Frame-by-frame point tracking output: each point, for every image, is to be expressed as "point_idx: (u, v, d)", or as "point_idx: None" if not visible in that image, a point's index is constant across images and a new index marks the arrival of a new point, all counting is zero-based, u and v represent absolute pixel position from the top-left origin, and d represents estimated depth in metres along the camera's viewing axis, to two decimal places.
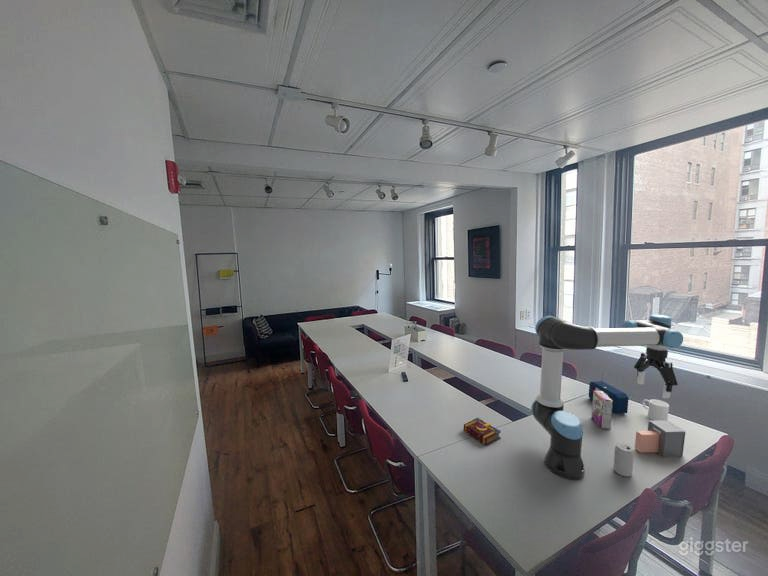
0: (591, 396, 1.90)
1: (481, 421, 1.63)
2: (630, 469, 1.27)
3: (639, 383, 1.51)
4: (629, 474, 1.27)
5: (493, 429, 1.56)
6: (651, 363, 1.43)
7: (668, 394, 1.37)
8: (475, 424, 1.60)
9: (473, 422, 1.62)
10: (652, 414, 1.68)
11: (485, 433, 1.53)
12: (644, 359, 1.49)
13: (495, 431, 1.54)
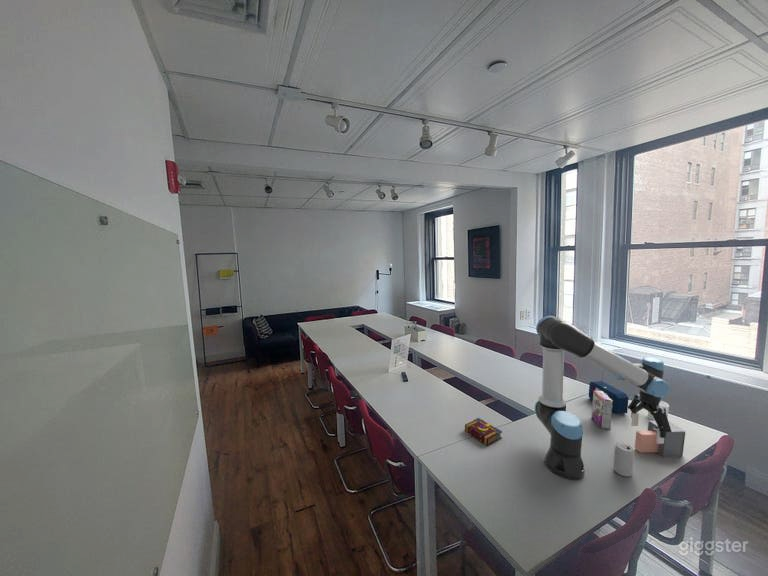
0: (591, 396, 1.90)
1: (482, 421, 1.63)
2: (630, 469, 1.27)
3: (633, 424, 1.49)
4: (629, 474, 1.27)
5: (494, 429, 1.56)
6: (645, 406, 1.42)
7: (662, 440, 1.35)
8: (476, 424, 1.60)
9: (474, 422, 1.62)
10: None
11: (486, 433, 1.52)
12: (638, 401, 1.47)
13: (496, 431, 1.54)
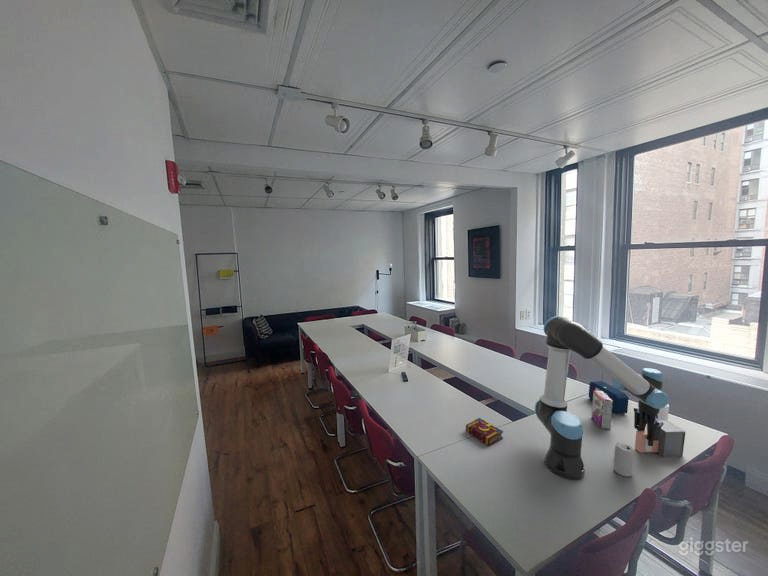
0: (591, 396, 1.90)
1: (483, 421, 1.63)
2: (630, 469, 1.27)
3: None
4: (629, 474, 1.27)
5: (495, 429, 1.56)
6: (643, 416, 1.42)
7: (650, 448, 1.41)
8: (477, 424, 1.60)
9: (475, 423, 1.62)
10: None
11: (488, 433, 1.52)
12: (639, 415, 1.46)
13: (498, 431, 1.54)
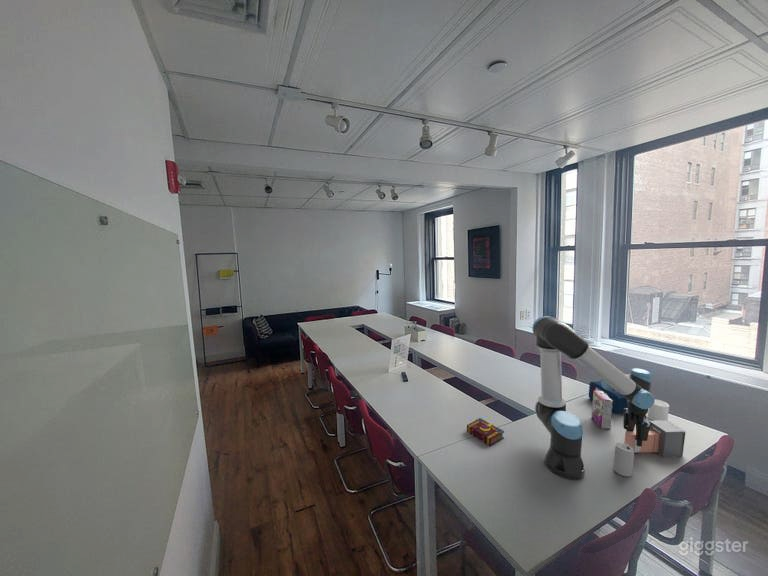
0: (591, 396, 1.90)
1: (484, 421, 1.63)
2: (630, 469, 1.27)
3: None
4: (629, 474, 1.27)
5: (496, 429, 1.56)
6: (632, 417, 1.42)
7: (639, 448, 1.41)
8: (478, 424, 1.60)
9: (476, 423, 1.62)
10: (652, 414, 1.68)
11: (489, 433, 1.52)
12: (628, 415, 1.46)
13: (499, 431, 1.54)
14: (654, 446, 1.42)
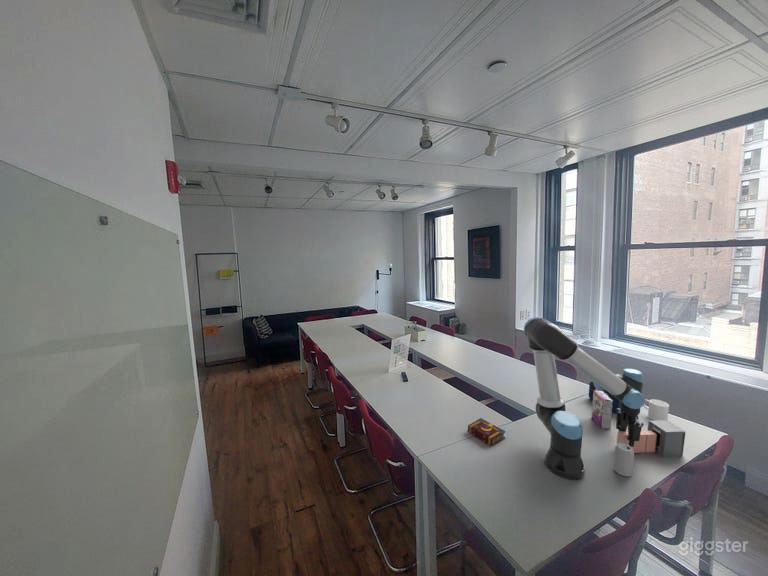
0: (591, 396, 1.90)
1: (485, 421, 1.63)
2: (630, 469, 1.27)
3: None
4: (629, 474, 1.27)
5: (498, 429, 1.56)
6: (624, 417, 1.42)
7: None
8: (479, 425, 1.60)
9: (477, 423, 1.61)
10: (652, 414, 1.68)
11: (490, 433, 1.52)
12: (621, 415, 1.46)
13: (500, 431, 1.54)
14: (646, 446, 1.42)
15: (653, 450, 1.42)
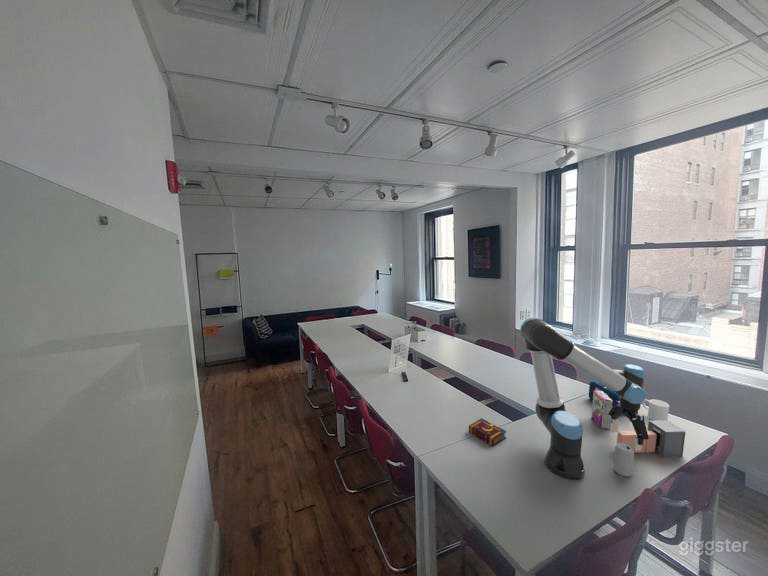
0: (591, 396, 1.90)
1: (486, 421, 1.63)
2: (630, 469, 1.27)
3: (613, 431, 1.49)
4: (629, 474, 1.27)
5: (499, 429, 1.55)
6: (624, 413, 1.42)
7: (639, 447, 1.35)
8: (480, 425, 1.60)
9: (478, 423, 1.61)
10: (652, 414, 1.68)
11: (491, 434, 1.52)
12: (618, 407, 1.47)
13: (501, 431, 1.54)
14: (646, 446, 1.42)
15: (653, 450, 1.42)
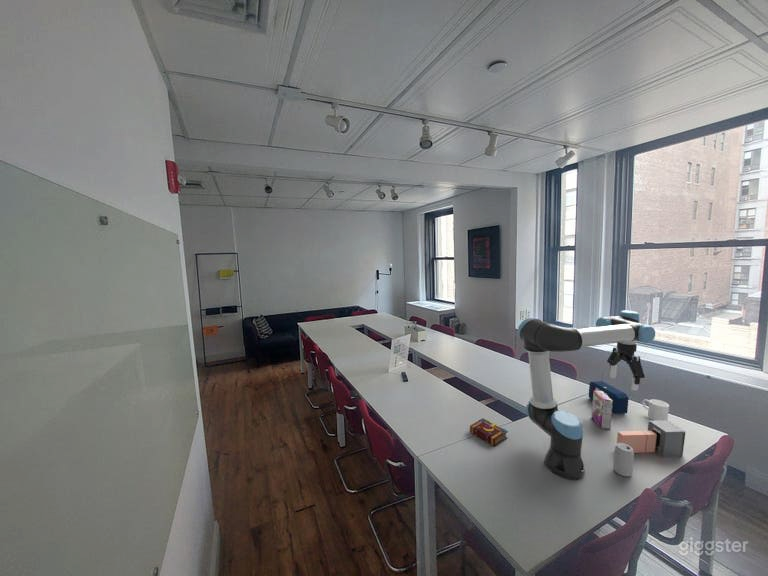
0: (591, 396, 1.90)
1: (487, 421, 1.62)
2: (630, 469, 1.27)
3: (611, 376, 1.56)
4: (629, 474, 1.27)
5: (500, 429, 1.55)
6: (621, 357, 1.49)
7: (636, 386, 1.43)
8: (481, 425, 1.60)
9: (479, 423, 1.61)
10: (652, 414, 1.68)
11: (493, 434, 1.52)
12: (616, 353, 1.55)
13: (502, 431, 1.54)
14: (646, 446, 1.42)
15: (653, 450, 1.42)
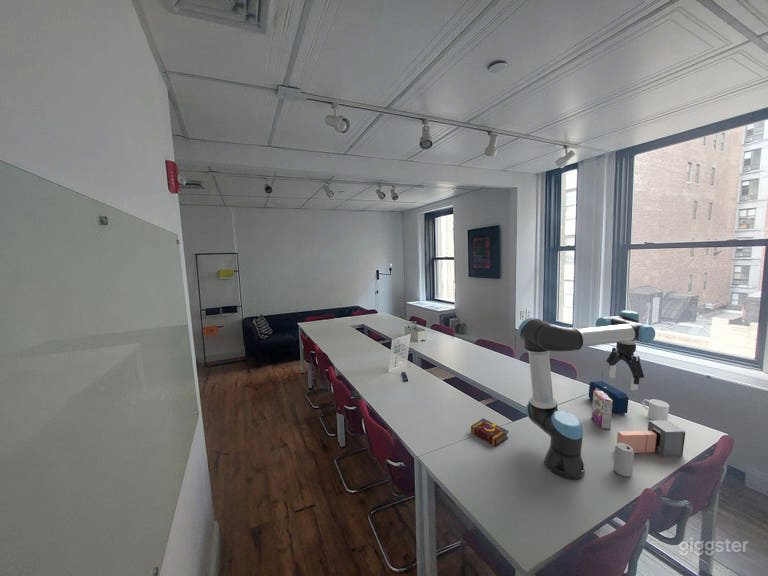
0: (591, 396, 1.90)
1: (487, 422, 1.62)
2: (630, 469, 1.27)
3: (611, 376, 1.57)
4: (629, 474, 1.27)
5: (501, 429, 1.55)
6: (621, 357, 1.50)
7: (636, 386, 1.43)
8: (482, 425, 1.60)
9: (480, 423, 1.61)
10: (652, 414, 1.68)
11: (494, 434, 1.52)
12: (615, 353, 1.55)
13: (503, 431, 1.54)
14: (646, 446, 1.42)
15: (653, 450, 1.42)
